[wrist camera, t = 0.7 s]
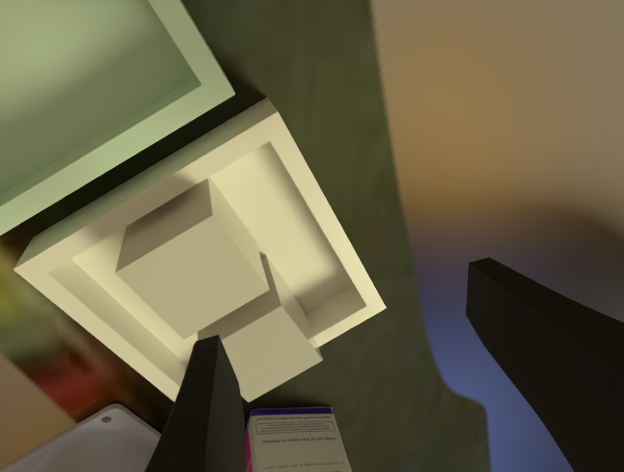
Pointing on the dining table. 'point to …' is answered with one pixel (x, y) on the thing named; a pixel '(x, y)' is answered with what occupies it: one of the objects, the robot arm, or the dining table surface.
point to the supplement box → (294, 441)
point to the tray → (250, 209)
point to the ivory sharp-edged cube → (192, 260)
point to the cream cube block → (266, 338)
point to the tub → (92, 91)
